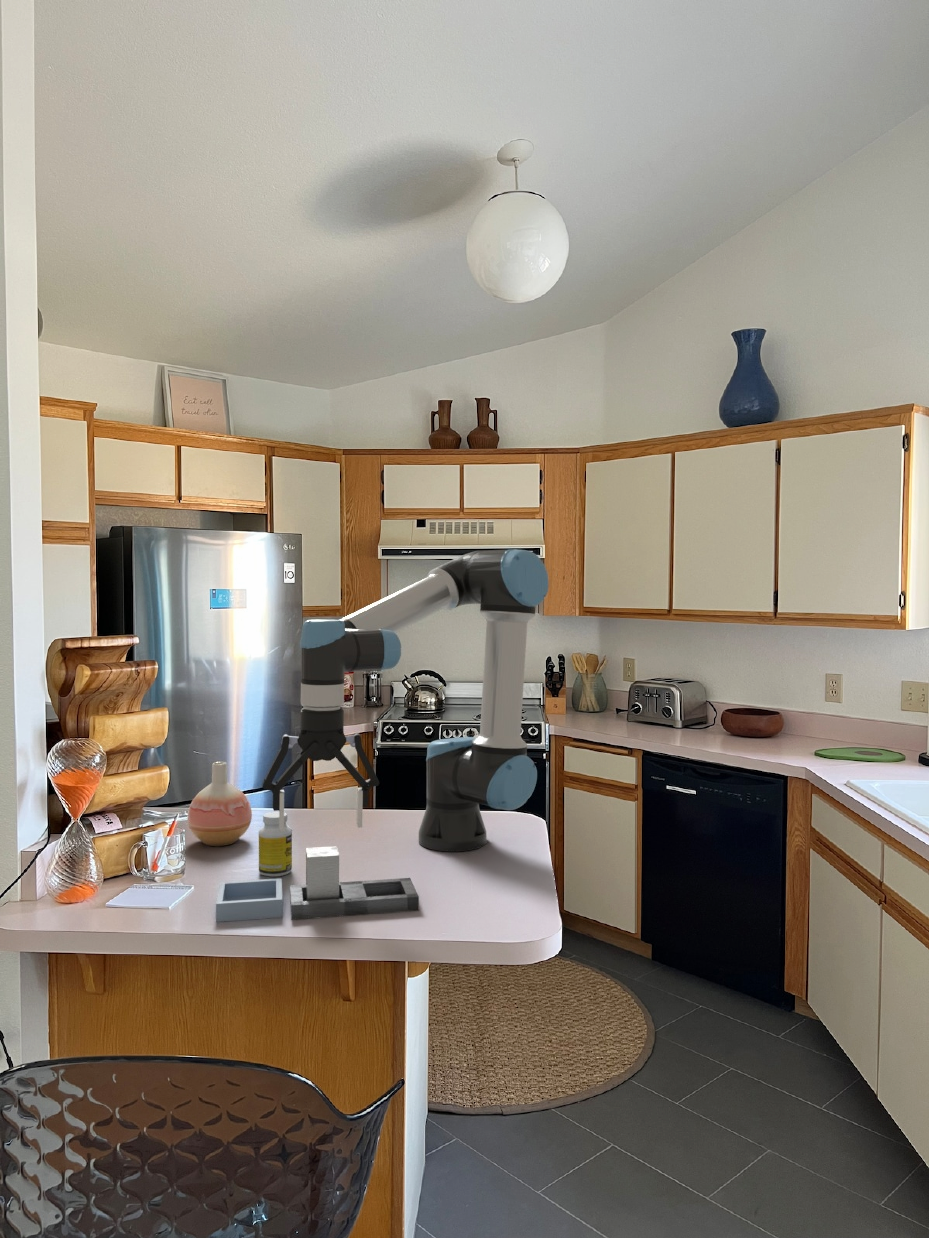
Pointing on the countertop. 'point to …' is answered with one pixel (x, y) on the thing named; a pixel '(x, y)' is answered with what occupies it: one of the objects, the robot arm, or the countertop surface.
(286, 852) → the pill bottle
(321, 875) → the white block
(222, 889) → the tray
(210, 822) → the vase
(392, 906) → the grey slotted holder
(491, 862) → the countertop surface
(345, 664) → the robot arm
